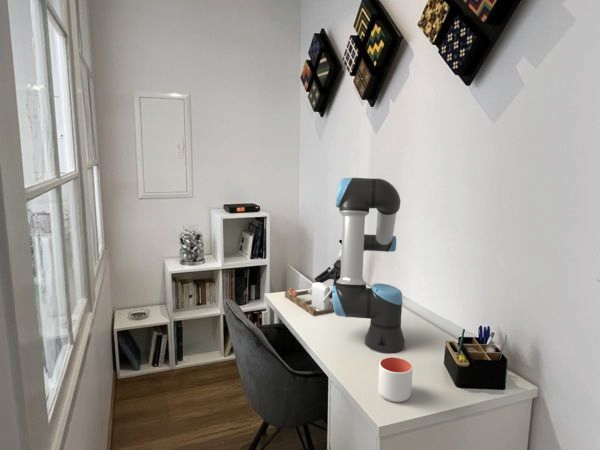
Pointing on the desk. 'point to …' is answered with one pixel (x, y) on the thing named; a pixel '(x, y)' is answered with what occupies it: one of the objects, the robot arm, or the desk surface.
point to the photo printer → (320, 295)
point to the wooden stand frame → (305, 302)
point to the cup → (395, 379)
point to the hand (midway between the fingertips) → (316, 298)
